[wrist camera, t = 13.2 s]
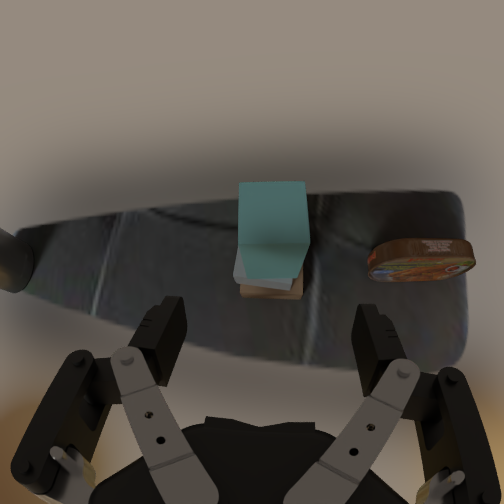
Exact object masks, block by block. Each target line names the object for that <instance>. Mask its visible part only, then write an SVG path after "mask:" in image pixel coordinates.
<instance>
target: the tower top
mask: <svg viewBox="0 0 504 504" xmlns="http://www.w3.org/2000/svg"><path fill="white" fill-rule="evenodd" d="M233 277H234V279H235V281H236V283H239V284H246V285H253V286H260V287H267V288H274V289H281V290H289V291H290V288H291V285H292V279H293V278H280V279H247V276H246V272H245V268H244V264H243V261H242V257H241V253H240V249H239V246H238V251H237V256H236V262H235V267H234V273H233Z"/></svg>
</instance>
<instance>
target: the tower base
mask: <svg viewBox="0 0 504 504" xmlns="http://www.w3.org/2000/svg"><path fill="white" fill-rule="evenodd" d="M240 294H241V295H242V297H243V298H268V299H301V297H302V295H303V264H302V267H301V269H300V272H299V275H298V277H297V278H293V279H292V285H291V288H290V291H289V290H281V289H274V288H267V287H260V286H253V285H246V284H240Z"/></svg>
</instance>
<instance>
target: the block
mask: <svg viewBox="0 0 504 504" xmlns="http://www.w3.org/2000/svg"><path fill="white" fill-rule="evenodd" d="M309 245H310V232H309V220H308V208H307V198H306V187H305V182H304V181H303V182H302V181H294V182H292V181H291V182H289V181H288V182H245V183H244V182H242V183H239V217H238V246H239V249H240V253H241V257H242V261H243V264H244V268H245V272H246V276H247V279H280V278H297V277H298V275H299V272H300V269H301V267H302V264H303V261H304V259H305V256H306V253H307V251H308V248H309Z"/></svg>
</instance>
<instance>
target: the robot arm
mask: <svg viewBox="0 0 504 504" xmlns="http://www.w3.org/2000/svg"><path fill="white" fill-rule="evenodd" d="M33 264H34V257H33V252H32V249H31V247H30V246H29V245H28V244H27V243H25V242H23V241H21V240H20V239H18V238H16V237H14V236H13V235H11V234H9V233H8V232H6V231H4V230H3V229H1V228H0V289H2V290H5V291H8V292H11V293H18V292H20V291H21V290H22V289H24V287H25V286H26V285H27V283H28V281H29V279H30V277H31V274H32V270H33ZM186 333H187V319H186V313H185V307H184V301H183V298H182V297H177V296H165V298H164V300H163V301H162V303H161V305H160V306H158V305H155V306H154V307H152V308H151V309H150V310H149V311H147V313H146V315H145V316H144V318H143V320H142V322H141V323H140V326H139V327H138V328H137V330H136V332H135V334H134V335H133V337H132V339H131V341H130V343H129V345H128V346H127V347H123V348H120V349H118V350H117V351H115V352H114V353H113V355H112V357H110V358H97V359H94V357H93V355H92V353H91V352H89V351H87V350H77V351H74V352H72V353H71V354H69V355H68V357H67V358H66V359H65V361H64V363H63V365H62V366H61V368H60V369H59V371H58V373H57V375H56V376H55V378H54V380H53V382H52V383H51V385H50V387H49V388H48V390H47V392H46V394H45V396H44V397H43V399H42V401H41V403H40V405H39V407H38V409H37V411H36V413H35V414H34V416H33V418H32V420H31V422H30V424H29V426H28V428H27V430H26V432H25V434H24V436H23V438H22V440H21V442H20V444H19V446H18V449H17V451H16V453H15V455H14V457H13V459H12V462H11V473H12V475H13V477H14V479H15V480H16V481H18V482H19V483H20V484H22V485H23V486H25V487H26V488H27V489H28V490H29V491H30V492H32V493H33V494H35V495H36V496H38V497H39V498H41V499H42V500H44V501H45V502H47V503H49V504H409V503H408V502H407V501H406V500H405V499H403V498H402V497H401V496H400V495H399V494H398V493H396V492H395V491H394V490H393V489H392V488H391V487H390V486H389V485H387V484H386V483H385V482H384V481H383V480H382V479H381V478H379V477H378V476H377V475H376V474H375V473H374V472H373V471H372V470H371V469H370V467H371V465H372V464H373V463H374V461H375V460H376V458H377V456H378V455H379V453H380V452H381V450H382V448H383V447H384V445H385V443H386V442H387V440H388V438H389V437H390V435H391V433H392V432H393V430H394V428H395V426H396V424H397V423H398V421H399V419H400V418H403V419H409V420H414V421H415V426H416V431H417V436H418V441H419V447H420V452H421V458H422V464H423V471H424V477H425V484H423V485H422V486H421V487H420V488H419V490H418V492H417V495H416V503H415V504H500V501H501V489H500V484H499V480H498V476H497V472H496V468H495V464H494V460H493V456H492V452H491V449H490V446H489V442H488V439H487V436H486V432H485V429H484V426H483V423H482V420H481V418H480V415H479V412H478V409H477V406H476V403H475V401H474V398H473V396H472V393H471V390H470V388H469V385H468V383H467V380H466V378H465V376H464V374H463V373H462V372H461V371H459V370H458V369H456V368H453V367H445V368H443V369H441V370H440V371H439V373H438V375H435V374H429V373H424V372H420V370H419V368H418V366H417V365H416V364H415V363H414V362H412V361H410V360H407V357H406V355H405V352H404V350H403V347H402V345H401V342H400V340H399V338H398V335H397V332H396V331H395V328H394V325H393V323H392V321H391V320H390V319H389V318H388V317H387V316H386V315H379V312H378V310H377V307H376V305H375V304H359V305H358V307H357V311H356V315H355V320H354V324H353V328H352V334H351V340H352V346H353V350H354V354H355V359H356V363H357V367H358V372H359V377H360V381H361V386H362V391H363V396H364V397H366V399H365V400H364V402H363V403H362V405H361V406H360V407H359V409H358V411H357V412H356V413H355V415H354V416H353V417H352V419H351V420H350V421H349V423H348V424H347V425H346V427H345V428H344V429H343V431H342V432H341V433H340V434H339V436H338V437H337V438H336V437H334V436H332V435H330V434H328V433H326V432H323V431H320V430H315V422H287V423H281V424H275V425H270V426H264V427H258V426H254V425H250V424H247V423H243V422H240V421H237V420H234V419H226V418H216V417H208V416H206V418H205V422H204V423H203V424H196V425H192V426H189V427H186V428H184V429H182V430H180V428H179V426H178V424H177V422H176V420H175V419H174V417H173V415H172V413H171V411H170V409H169V407H168V405H167V403H166V401H165V399H164V397H163V396H162V393H161V391H160V389H159V387H158V386H165V387H167V384H168V382H169V379H170V376H171V373H172V371H173V368H174V366H175V363H176V360H177V358H178V355H179V352H180V350H181V347H182V344H183V342H184V339H185V337H186ZM112 404H123V407H124V409H125V412H126V415H127V417H128V420H129V423H130V425H131V428H132V430H133V433H134V435H135V438H136V440H137V443H138V445H139V447H140V450H141V452H142V454H143V456H142V457H140V458H139V459H137V460H136V461H134V462H133V463H131V464H130V465H128V466H126V467H125V468H123V469H122V470H120V471H119V472H117V473H115V474H113V475H112V476H110V477H109V478H107V479H105V480H104V481H102V482H101V483H99V484H98V485H97V486H95V476H96V473H95V470H94V468H93V466H92V465H91V464H90V462H91V459H92V457H93V454H94V451H95V448H96V446H97V443H98V440H99V437H100V435H101V432H102V429H103V427H104V424H105V421H106V419H107V416H108V414H109V411H110V409H111V406H112Z"/></svg>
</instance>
